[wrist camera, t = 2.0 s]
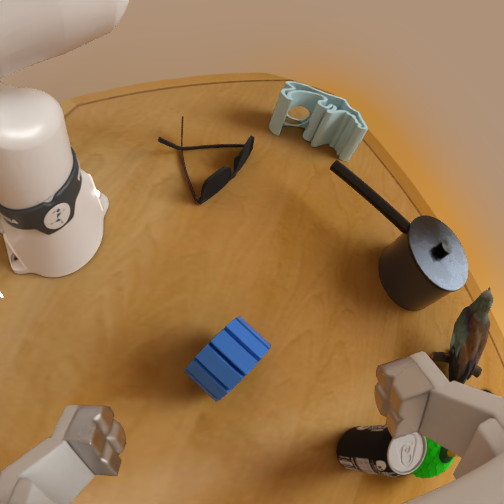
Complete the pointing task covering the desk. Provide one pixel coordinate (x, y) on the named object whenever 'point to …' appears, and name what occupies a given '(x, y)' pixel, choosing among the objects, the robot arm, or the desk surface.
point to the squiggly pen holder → (320, 118)
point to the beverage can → (381, 451)
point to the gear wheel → (227, 358)
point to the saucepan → (414, 253)
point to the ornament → (434, 460)
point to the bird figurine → (468, 340)
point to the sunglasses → (218, 177)
